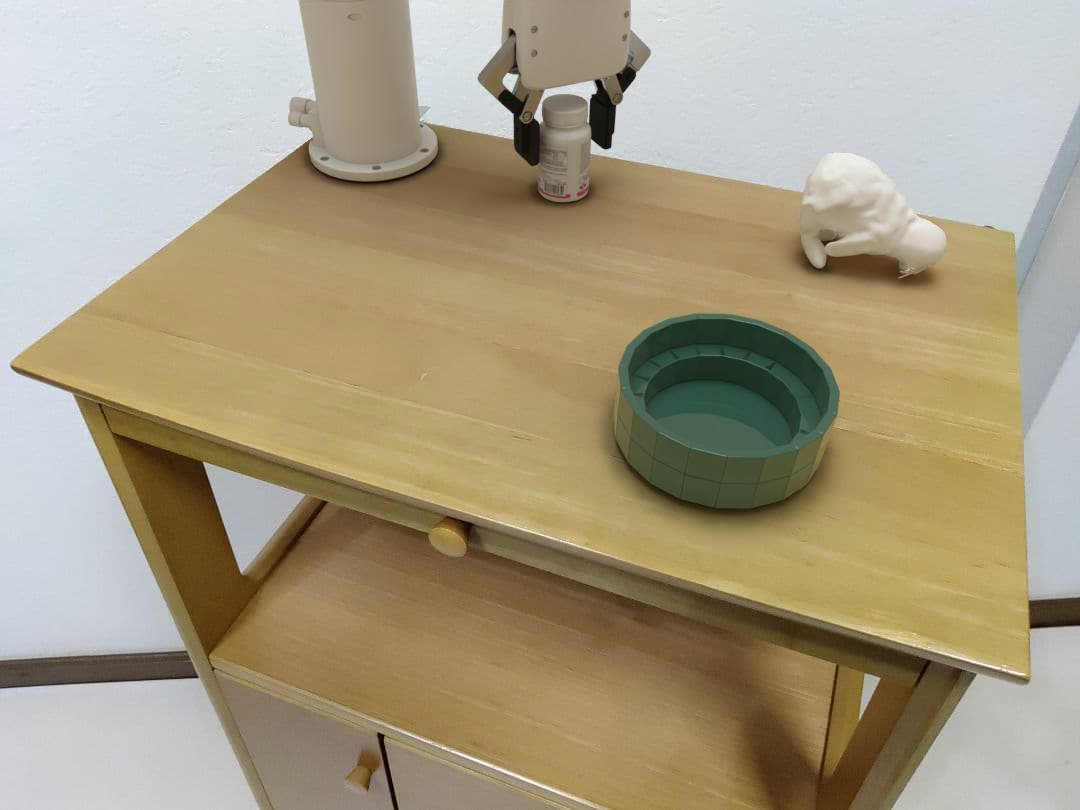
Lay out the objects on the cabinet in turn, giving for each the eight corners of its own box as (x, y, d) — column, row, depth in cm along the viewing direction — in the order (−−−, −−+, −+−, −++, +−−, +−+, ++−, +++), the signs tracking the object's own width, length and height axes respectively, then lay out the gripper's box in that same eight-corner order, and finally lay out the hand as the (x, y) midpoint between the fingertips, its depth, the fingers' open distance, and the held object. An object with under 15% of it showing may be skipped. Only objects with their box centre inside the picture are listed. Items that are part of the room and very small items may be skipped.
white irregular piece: (825, 132, 66) (978, 176, 64) (792, 222, 72) (930, 266, 70) (809, 165, 62) (971, 214, 59) (775, 258, 68) (921, 306, 65)
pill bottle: (573, 174, 79) (577, 88, 73) (597, 197, 76) (603, 108, 70) (529, 184, 78) (529, 97, 72) (551, 208, 74) (553, 118, 69)
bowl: (589, 483, 50) (593, 425, 47) (639, 353, 60) (646, 297, 56) (809, 539, 47) (831, 481, 44) (826, 393, 57) (845, 336, 53)
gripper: (643, -94, 67) (625, 117, 79) (445, -72, 61) (459, 153, 74) (695, -73, 62) (668, 149, 75) (485, -46, 57) (493, 190, 69)
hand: (564, 149), depth 74 cm, fingers open, 6 cm apart
